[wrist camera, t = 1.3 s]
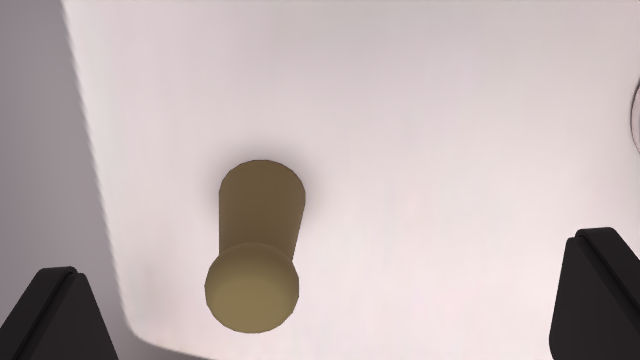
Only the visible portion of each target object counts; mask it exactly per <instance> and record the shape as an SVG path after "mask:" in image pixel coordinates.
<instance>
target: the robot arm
mask: <svg viewBox="0 0 640 360" xmlns="http://www.w3.org/2000/svg"><path fill="white" fill-rule="evenodd" d="M632 132H633V137H634V142H635V144H636V146H637V148H638V150H639V152H640V87H639V89H638V91H637V93H636V97H635V101H634V105H633V109H632ZM549 346H550V351H551V354H552V357H553V359H554V360H640V260H639V259H638V258H637V256H636V255H635V254H634V253H633V251H632V250H631V249H630V248H629V246H628V245H627V244H626V243H625V241H624V240H623V239H622V238H621V236H620V235H619V234H618V233H617V231H615V230H614V229H613V228H611V227H603V228H589V229H580V230H578V231H577V232H576V234H575V237H571V238H568V240H567V242H566V246H565V252H564V257H563V263H562V268H561V274H560V279H559V285H558V290H557V296H556V301H555V307H554V312H553V318H552V323H551V329H550V334H549ZM0 360H118V357H117V354H116V352H115V349H114V346H113V344H112V341H111V339H110V336H109V334H108V331H107V328H106V326H105V323H104V321H103V318H102V316H101V313H100V311H99V308H98V305H97V303H96V300H95V298H94V295H93V292H92V290H91V287H90V285H89V282H88V280H87V277H86V276H85V275H84V274H83V273H78V272H77V270H76V269H75V268H74V267H71V266H69V267H54V268H43V269H41V270H39V271H38V272H37V273H36V275H35V276H34V278H33V280H32V281H31V283H30V284H29V286H28V287H27V289H26V290H25V292H24V293H23V295H22V296H21V298H20V299H19V301H18V302H17V304H16V305H15V307H14V308H13V310H12V311H11V313H10V314H9V316H8V317H7V319H6V320H5V322H4V324H3V325H2V326H1V328H0Z"/></svg>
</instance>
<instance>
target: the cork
mask: <svg viewBox="0 0 640 360" xmlns="http://www.w3.org/2000/svg"><path fill="white" fill-rule="evenodd" d="M304 207H305V190H304V187H303V185H302V182H301V180H300V179H299V178H298V177H297V175H296V174H295V173H294V172H293V171H292V170H290V169H289V168H287V167H285V166H284V165H282V164H279V163H276V162H272V161H269V160H253V161H249V162H246V163H243V164H240V165H238V166H237V167H235V168H234V169H232V170H231V171H229V173H228V174H227V175H226V177H225V178H224V179H223V181H222V184H221V187H220V190H219V256H218V257H217V258H216V260H215V261H214V262H213V263H212V265H211V266H210V268H209V271H208V274H207V278H206V281H205V285H204V287H205V295H206V303H207V305H208V307H209V309H210V311H211V313H212V314H213V316H214V317H215V318H216V319H217V320H218V321H219V322H220V323H221V324H222V325H223V326H225V327H227V328H230V329H232V330H234V331H237V332H242V333H262V332H266V331H270V330H272V329H274V328H276V327H278V326H280V325H281V324H282V323H283V322H284V321H285V320H286V319H287V318H288V317H289V316H290V315H291V314H292V313H293V310H294V308H295V306H296V303H297V300H298V298H299V277H298V275H297V272H296V270H295V267H294V265H293V263H292V260H293V255H294V251H295V246H296V242H297V238H298V233H299V229H300V224H301V220H302V216H303V211H304Z"/></svg>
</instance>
